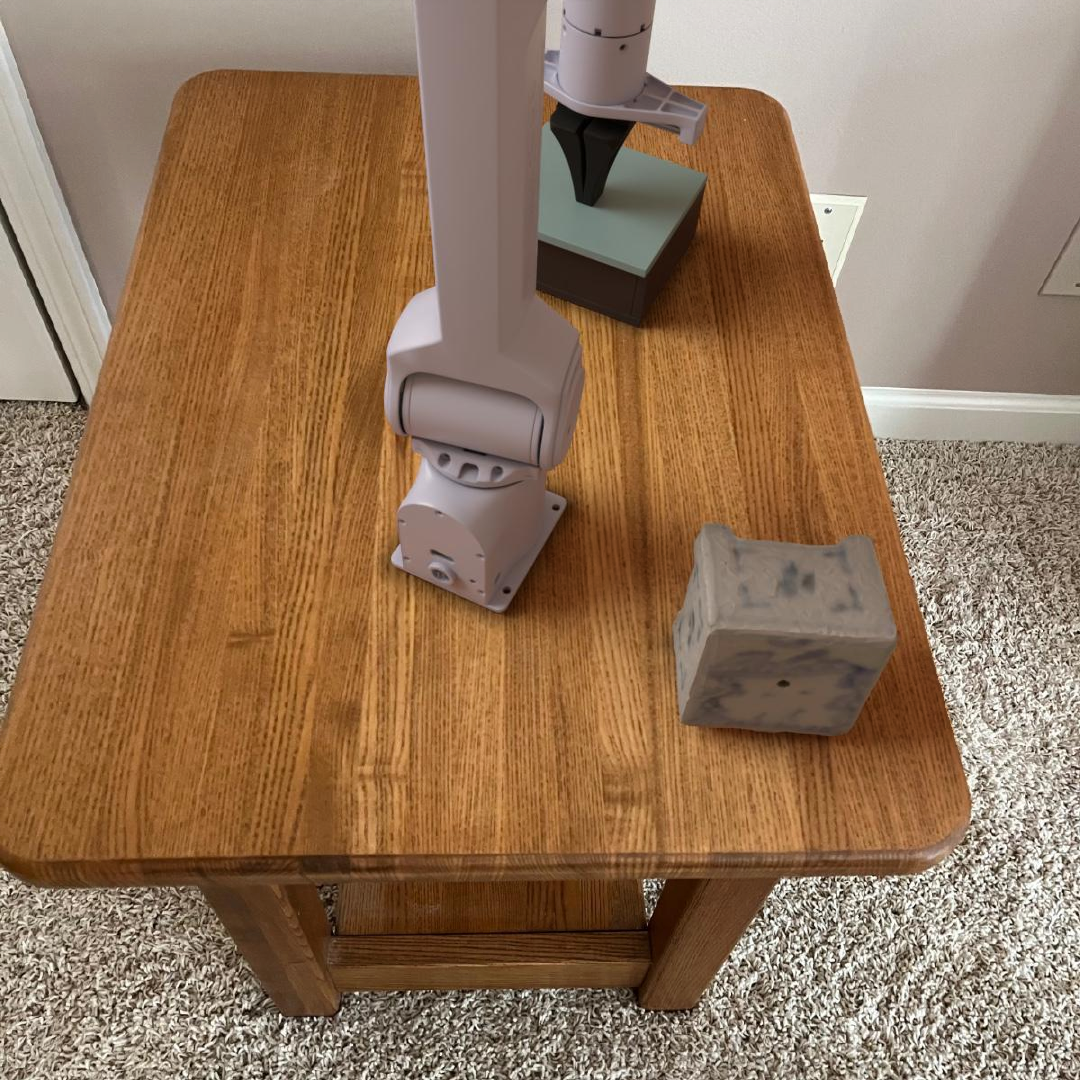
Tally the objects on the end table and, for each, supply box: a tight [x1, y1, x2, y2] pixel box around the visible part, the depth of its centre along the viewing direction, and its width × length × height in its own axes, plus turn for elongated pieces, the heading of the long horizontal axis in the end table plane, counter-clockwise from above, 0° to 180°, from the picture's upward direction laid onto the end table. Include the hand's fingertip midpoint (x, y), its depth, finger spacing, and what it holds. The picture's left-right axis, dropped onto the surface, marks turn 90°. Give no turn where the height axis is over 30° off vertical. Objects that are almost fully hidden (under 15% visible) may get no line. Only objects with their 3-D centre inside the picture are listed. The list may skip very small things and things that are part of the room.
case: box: [536, 183, 707, 329], centre depth 76 cm, size 12×14×5 cm
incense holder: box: [671, 522, 899, 737], centre depth 54 cm, size 10×8×10 cm
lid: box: [538, 120, 709, 278], centre depth 73 cm, size 12×14×1 cm
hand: (589, 196), depth 72 cm, fingers closed, pressing on lid
